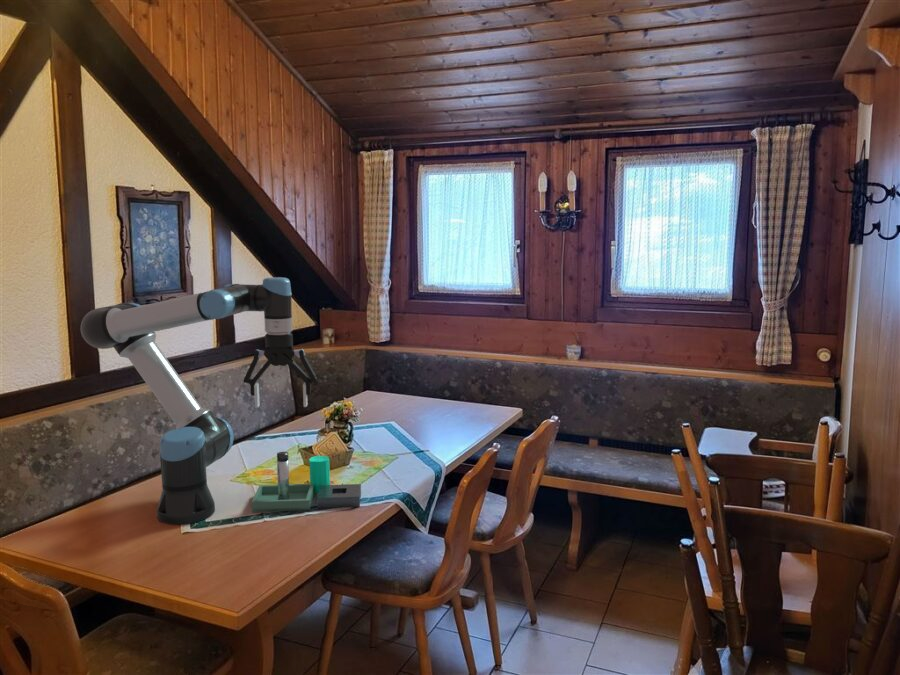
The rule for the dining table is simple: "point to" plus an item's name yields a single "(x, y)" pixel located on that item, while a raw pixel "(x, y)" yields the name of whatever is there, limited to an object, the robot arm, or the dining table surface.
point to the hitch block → (339, 496)
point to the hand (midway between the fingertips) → (281, 406)
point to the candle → (319, 472)
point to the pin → (283, 475)
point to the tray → (269, 500)
